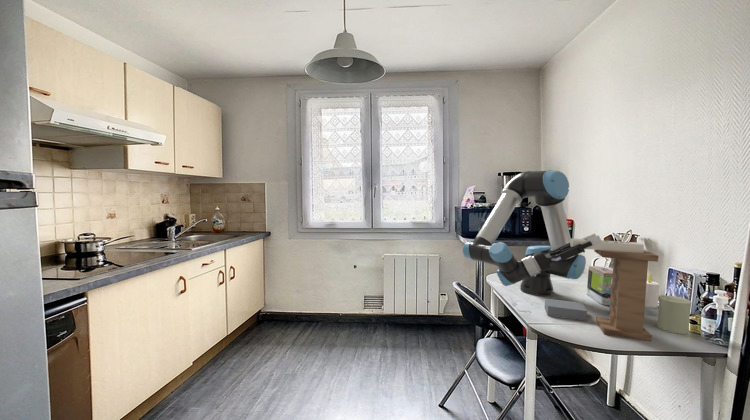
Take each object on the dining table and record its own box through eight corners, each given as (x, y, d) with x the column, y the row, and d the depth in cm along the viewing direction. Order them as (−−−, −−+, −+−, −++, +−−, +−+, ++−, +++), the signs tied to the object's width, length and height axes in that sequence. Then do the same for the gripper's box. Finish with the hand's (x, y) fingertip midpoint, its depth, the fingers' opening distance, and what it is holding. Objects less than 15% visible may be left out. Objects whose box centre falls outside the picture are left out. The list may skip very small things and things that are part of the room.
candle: (659, 305, 154) (662, 273, 152) (655, 308, 150) (658, 275, 148) (642, 301, 159) (644, 270, 157) (637, 304, 154) (640, 272, 153)
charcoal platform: (544, 307, 149) (544, 298, 149) (581, 312, 144) (581, 302, 144) (547, 315, 140) (547, 306, 139) (586, 320, 135) (587, 311, 134)
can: (650, 323, 133) (652, 293, 132) (672, 323, 133) (674, 293, 133) (672, 334, 124) (675, 302, 123) (696, 334, 124) (698, 302, 123)
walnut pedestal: (589, 321, 134) (594, 246, 132) (638, 327, 129) (644, 249, 127) (597, 333, 123) (603, 251, 121) (651, 341, 118) (658, 255, 115)
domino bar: (570, 246, 132) (570, 238, 131) (638, 250, 124) (639, 242, 124) (572, 248, 128) (573, 239, 127) (643, 253, 120) (644, 244, 120)
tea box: (625, 306, 152) (628, 274, 151) (601, 305, 153) (603, 272, 152) (608, 295, 167) (610, 266, 165) (585, 294, 168) (587, 265, 167)
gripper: (539, 267, 142) (597, 243, 134) (544, 277, 126) (610, 251, 118) (530, 250, 143) (587, 226, 135) (534, 259, 126) (599, 231, 119)
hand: (598, 237), depth 126 cm, fingers closed on domino bar, 4 cm apart
